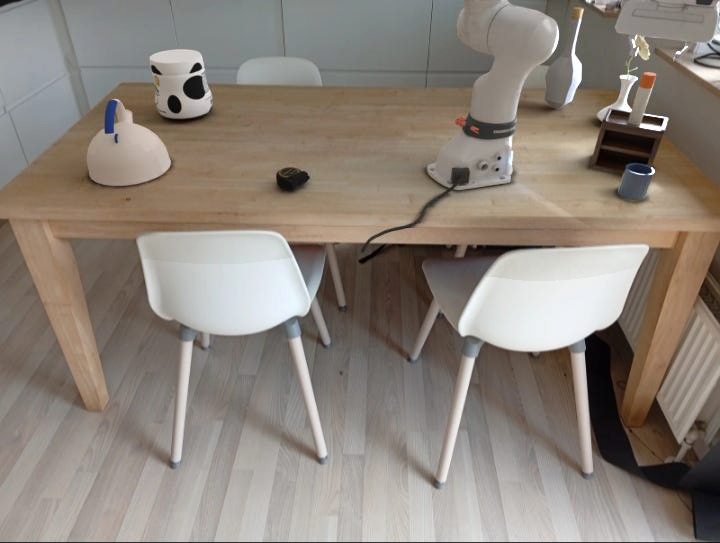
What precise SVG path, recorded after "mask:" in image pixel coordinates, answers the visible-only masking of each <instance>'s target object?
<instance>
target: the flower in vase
mask: <svg viewBox="0 0 720 543" xmlns="http://www.w3.org/2000/svg"><path fill="white" fill-rule="evenodd" d="M634 43H635V47H639V48H638V51H637V54H638V55H639V57H640V58H641V59H642V60H644V61H648V60H650V57H649V56H651V53H650V49H649V48H650V46H649V44H648V43H647V40H645V36H638V35H637V37H636V39H635V40H634ZM633 58H634V56H630V59H629V61H627V60H626V61H625V63H624V66H626V68H627V72H626V73H627V74H621V75H619V79H620V84H621V86H620V92H619V95H618V98H617V100H616V101H615V102H614V103H612V104H610V105H608V106H605V107H604V108H602V109H601V110H599V112H597V115H596V117H597V119H598V120H599V121H600V122H602V121H603V118H604V116H605V115H606V113H607V111H608V109H609V108H612V109H618V110H624V111H630V112H631V110H632V108H631V107H630V106H629V104H628V101H627V100H628V97H629V96H628V95H629V93H630V90H631V88H632V86H633V85H634V83H636V81H638V79H639V78H638V77H637V76H636V75H633V74H632V75H631V74H630V72H632V71H634V70H638V69H639V68H638V66H636V67H635V68H633V69H630V64H631V61H632V60H633Z"/></svg>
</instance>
